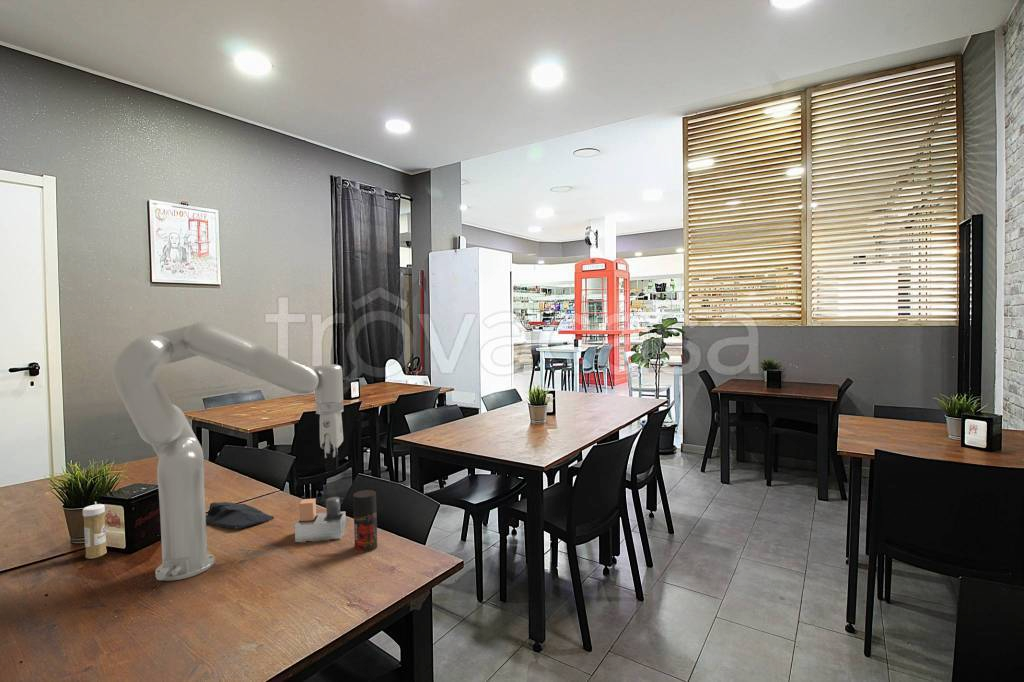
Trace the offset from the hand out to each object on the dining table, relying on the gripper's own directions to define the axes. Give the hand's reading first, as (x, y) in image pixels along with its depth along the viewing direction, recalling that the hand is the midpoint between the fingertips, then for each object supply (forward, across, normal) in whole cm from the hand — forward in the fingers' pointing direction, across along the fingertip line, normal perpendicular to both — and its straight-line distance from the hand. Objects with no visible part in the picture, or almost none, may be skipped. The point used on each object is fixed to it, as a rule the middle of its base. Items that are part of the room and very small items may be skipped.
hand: (331, 469), depth 144 cm
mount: (+19, 0, +4) cm, 19 cm away
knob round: (+14, 0, 0) cm, 14 cm away
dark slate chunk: (+20, +18, +33) cm, 43 cm away
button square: (+14, 0, +7) cm, 15 cm away
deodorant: (+19, -11, -10) cm, 25 cm away
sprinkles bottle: (+19, -1, +62) cm, 64 cm away
